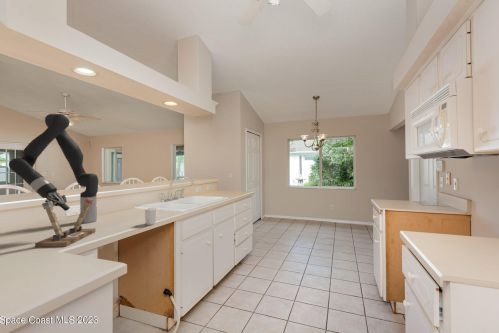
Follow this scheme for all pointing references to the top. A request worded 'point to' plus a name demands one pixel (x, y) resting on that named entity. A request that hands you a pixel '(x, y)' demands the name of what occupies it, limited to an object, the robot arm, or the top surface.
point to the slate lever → (53, 217)
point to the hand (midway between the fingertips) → (67, 209)
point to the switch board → (65, 238)
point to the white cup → (151, 216)
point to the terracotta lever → (83, 212)
